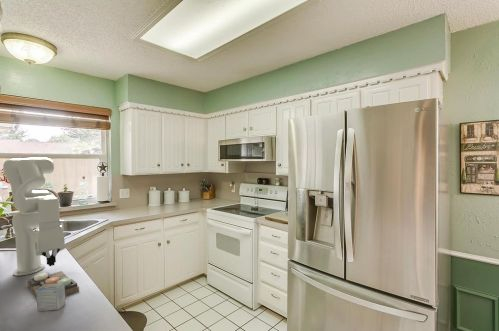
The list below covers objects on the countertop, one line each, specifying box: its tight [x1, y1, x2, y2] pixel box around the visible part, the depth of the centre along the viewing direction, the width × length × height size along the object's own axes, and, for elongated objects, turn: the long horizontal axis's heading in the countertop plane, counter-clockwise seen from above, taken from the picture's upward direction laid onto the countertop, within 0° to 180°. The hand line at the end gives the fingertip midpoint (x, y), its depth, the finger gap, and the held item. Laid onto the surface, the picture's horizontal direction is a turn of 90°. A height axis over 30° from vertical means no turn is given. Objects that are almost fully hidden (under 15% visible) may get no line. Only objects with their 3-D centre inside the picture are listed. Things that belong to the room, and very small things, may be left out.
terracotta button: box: [45, 277, 59, 284], centre depth 115 cm, size 5×5×2 cm
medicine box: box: [36, 283, 66, 312], centre depth 99 cm, size 8×4×9 cm, turn 92°
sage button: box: [57, 277, 72, 287], centre depth 112 cm, size 5×5×2 cm
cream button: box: [33, 272, 49, 282], centre depth 118 cm, size 5×5×2 cm
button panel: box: [27, 271, 80, 298], centre depth 115 cm, size 26×13×3 cm, turn 50°
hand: (51, 264), depth 115 cm, fingers closed
